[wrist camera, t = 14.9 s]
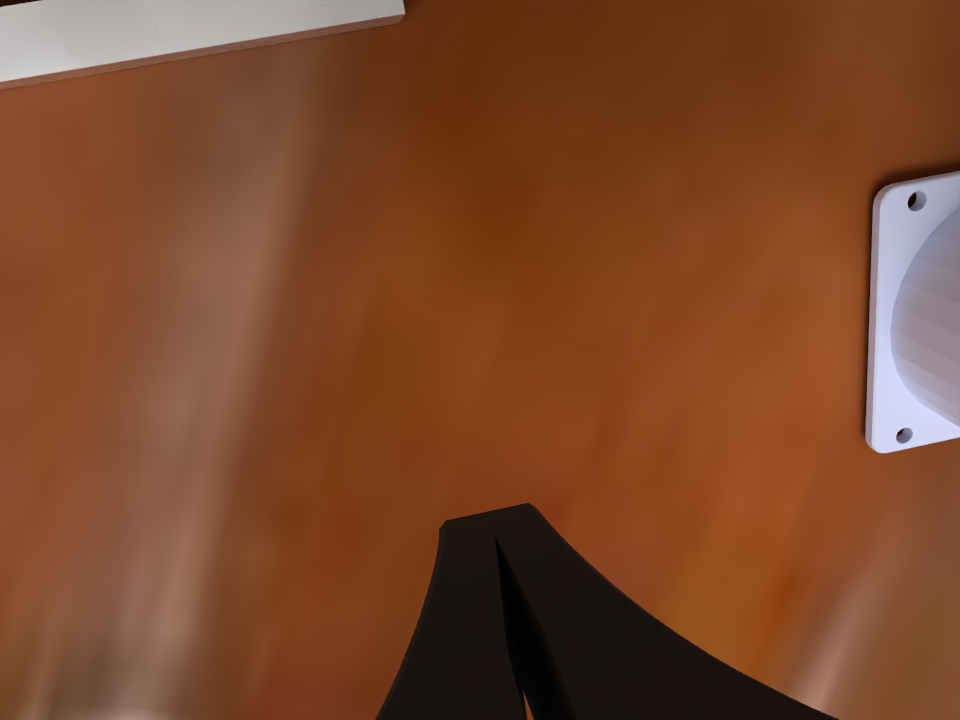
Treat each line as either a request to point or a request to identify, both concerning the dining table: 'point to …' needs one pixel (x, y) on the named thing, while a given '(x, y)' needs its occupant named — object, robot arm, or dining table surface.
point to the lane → (161, 31)
